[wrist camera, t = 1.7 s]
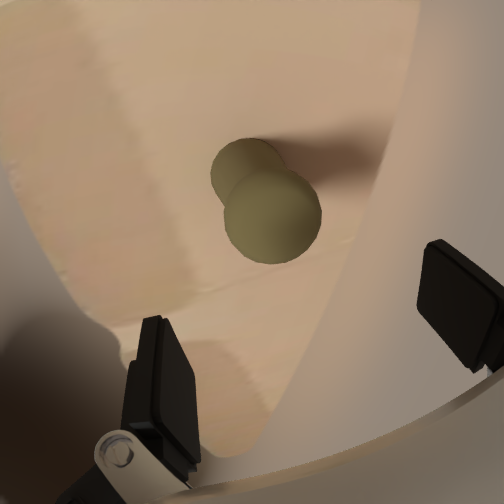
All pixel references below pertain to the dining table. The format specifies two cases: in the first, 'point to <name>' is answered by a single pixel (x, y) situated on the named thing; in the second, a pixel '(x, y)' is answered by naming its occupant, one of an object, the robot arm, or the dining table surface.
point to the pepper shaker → (264, 202)
